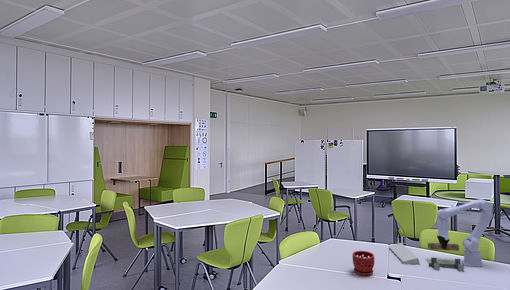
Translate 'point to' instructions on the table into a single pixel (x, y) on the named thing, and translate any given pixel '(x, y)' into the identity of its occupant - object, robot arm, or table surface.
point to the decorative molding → (404, 254)
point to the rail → (439, 247)
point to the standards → (446, 265)
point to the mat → (443, 261)
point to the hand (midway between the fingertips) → (443, 247)
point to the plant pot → (363, 262)
